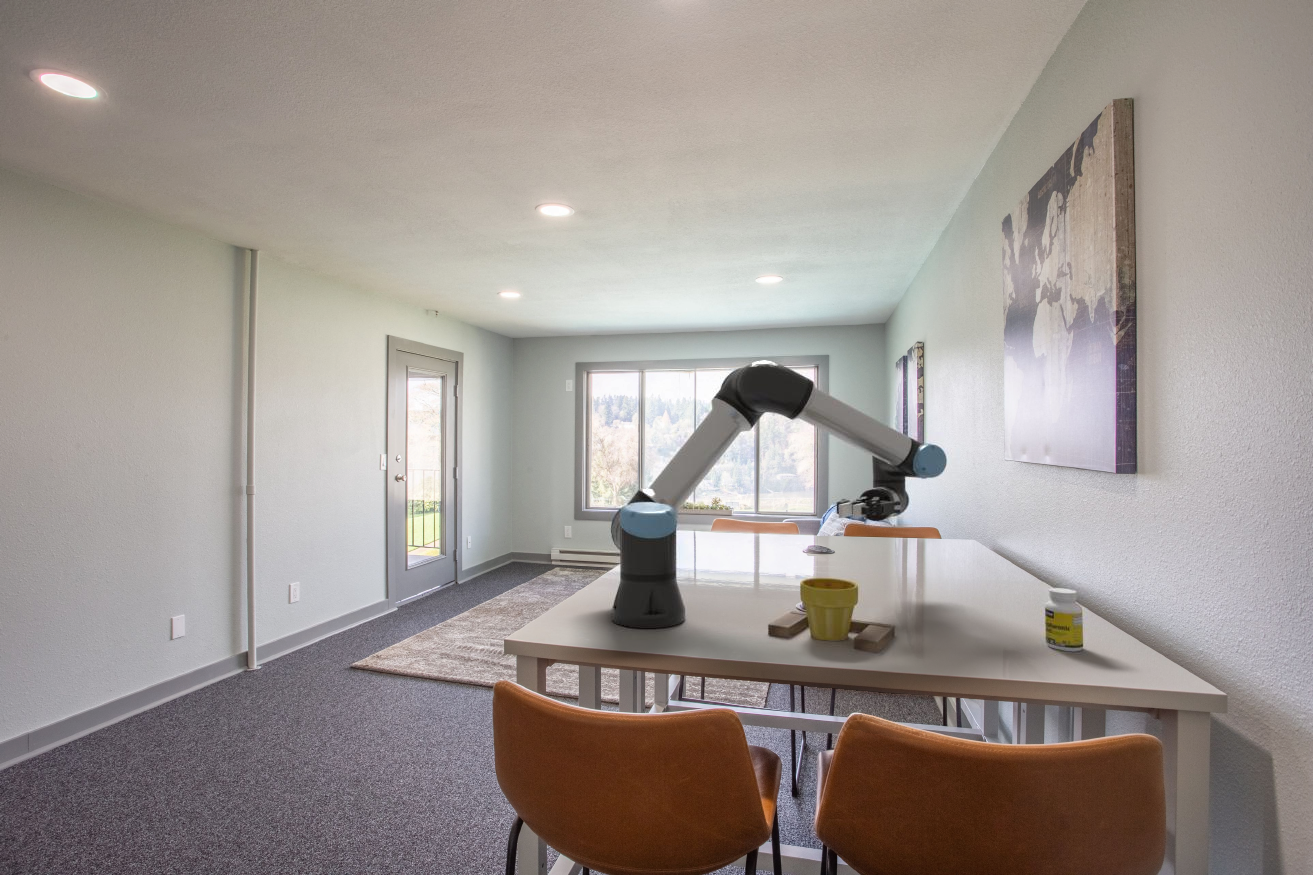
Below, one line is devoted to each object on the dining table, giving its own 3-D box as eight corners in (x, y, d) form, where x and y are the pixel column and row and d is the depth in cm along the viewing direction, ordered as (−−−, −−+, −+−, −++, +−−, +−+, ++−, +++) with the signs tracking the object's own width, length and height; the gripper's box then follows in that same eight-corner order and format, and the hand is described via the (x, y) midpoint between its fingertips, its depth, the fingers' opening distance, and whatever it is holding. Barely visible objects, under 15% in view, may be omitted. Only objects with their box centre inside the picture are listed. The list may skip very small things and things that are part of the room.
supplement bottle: (1038, 644, 108) (1037, 588, 108) (1059, 640, 110) (1057, 585, 110) (1070, 653, 103) (1068, 594, 103) (1090, 649, 105) (1089, 591, 105)
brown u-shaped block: (768, 633, 115) (768, 624, 115) (792, 619, 125) (792, 610, 125) (877, 652, 104) (877, 641, 104) (895, 635, 114) (895, 625, 114)
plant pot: (862, 646, 108) (861, 589, 108) (801, 642, 110) (801, 587, 110) (855, 629, 118) (854, 578, 118) (800, 627, 120) (799, 576, 120)
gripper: (913, 521, 139) (886, 532, 120) (846, 518, 148) (811, 528, 128) (912, 488, 139) (886, 494, 120) (845, 487, 148) (810, 492, 129)
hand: (847, 511), depth 124 cm, fingers open, 2 cm apart
